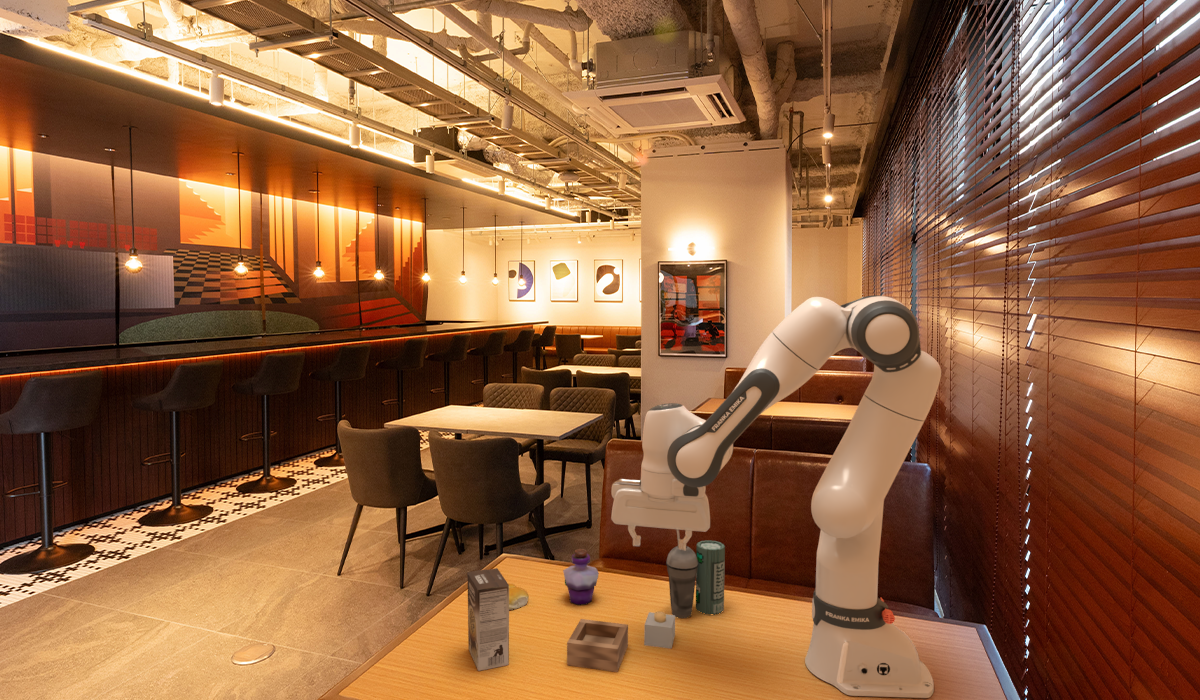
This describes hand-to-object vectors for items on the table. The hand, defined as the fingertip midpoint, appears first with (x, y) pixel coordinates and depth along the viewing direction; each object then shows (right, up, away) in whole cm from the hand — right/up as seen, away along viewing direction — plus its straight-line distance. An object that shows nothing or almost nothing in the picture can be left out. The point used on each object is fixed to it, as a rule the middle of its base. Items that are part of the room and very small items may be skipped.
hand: (659, 547), depth 135 cm
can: (+13, -19, +16) cm, 28 cm away
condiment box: (-13, -20, -5) cm, 24 cm away
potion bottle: (-17, -19, +20) cm, 32 cm away
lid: (0, -20, +1) cm, 20 cm away
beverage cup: (+6, -19, +13) cm, 24 cm away
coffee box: (-34, -20, -5) cm, 40 cm away
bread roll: (-33, -19, +19) cm, 43 cm away
